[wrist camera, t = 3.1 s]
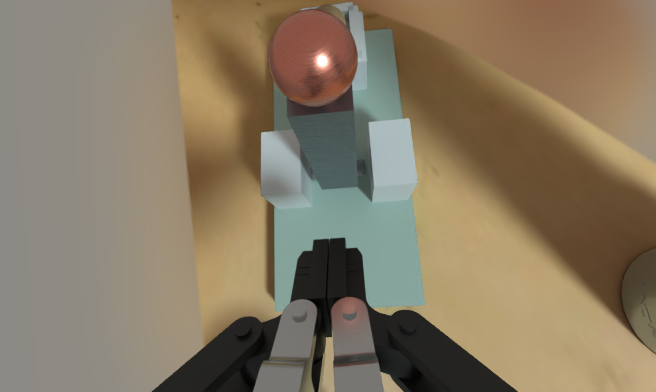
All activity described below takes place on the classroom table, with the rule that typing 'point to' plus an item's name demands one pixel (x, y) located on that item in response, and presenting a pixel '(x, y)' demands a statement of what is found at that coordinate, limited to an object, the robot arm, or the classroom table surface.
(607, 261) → the classroom table surface
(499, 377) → the robot arm
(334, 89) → the lever
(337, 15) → the walnut
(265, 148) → the base
